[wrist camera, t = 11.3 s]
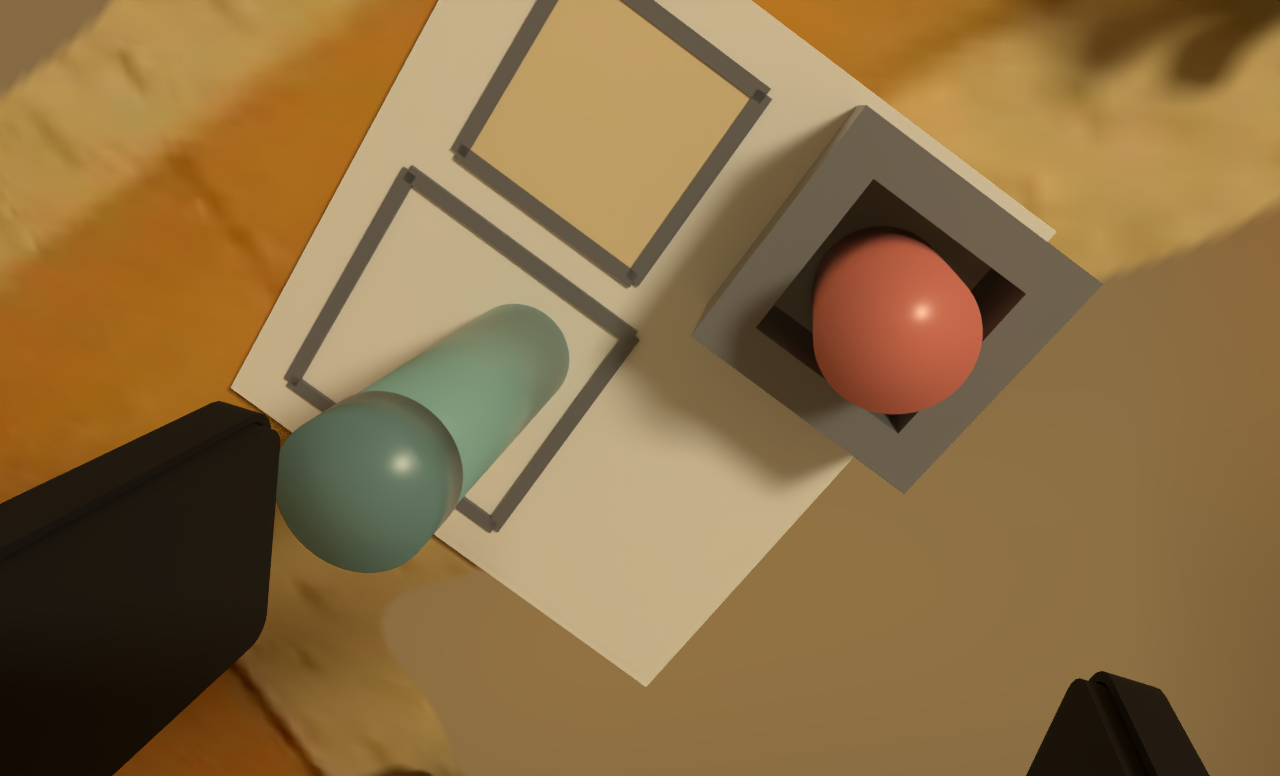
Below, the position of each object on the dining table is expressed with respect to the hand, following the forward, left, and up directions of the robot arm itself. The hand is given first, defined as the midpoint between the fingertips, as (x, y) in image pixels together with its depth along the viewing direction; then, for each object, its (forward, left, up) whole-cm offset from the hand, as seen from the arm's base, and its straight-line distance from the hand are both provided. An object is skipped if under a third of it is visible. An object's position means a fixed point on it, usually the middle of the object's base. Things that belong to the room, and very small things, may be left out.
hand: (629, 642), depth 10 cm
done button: (+3, +3, -16) cm, 16 cm away
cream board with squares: (-3, -3, -18) cm, 19 cm away
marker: (-5, -6, -18) cm, 19 cm away
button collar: (+3, +3, -18) cm, 18 cm away
